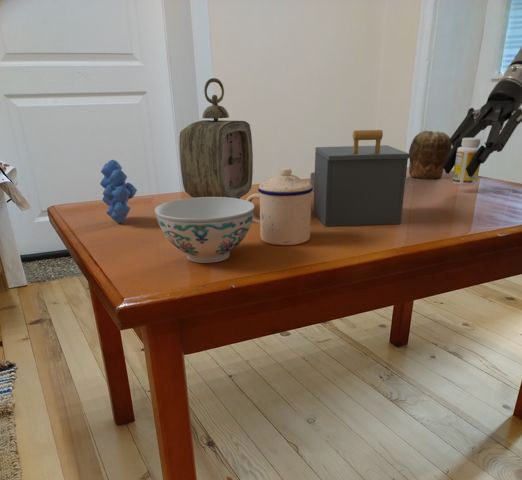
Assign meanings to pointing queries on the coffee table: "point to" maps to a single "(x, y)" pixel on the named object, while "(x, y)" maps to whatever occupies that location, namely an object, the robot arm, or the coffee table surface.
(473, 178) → the supplement bottle
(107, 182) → the grapes
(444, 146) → the brown rounded lump
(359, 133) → the chest lid
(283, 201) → the teacup with lid
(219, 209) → the chinaware
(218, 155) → the tabletop clock
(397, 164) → the chest
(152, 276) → the coffee table surface
